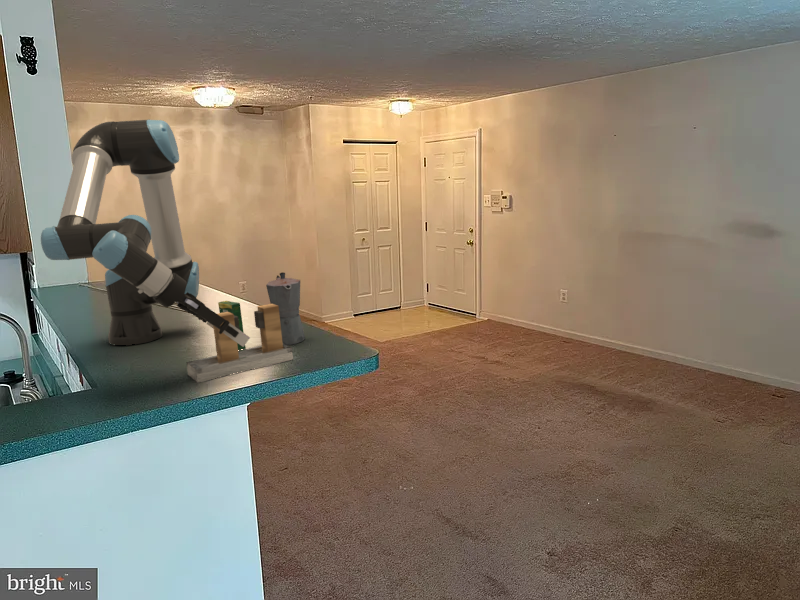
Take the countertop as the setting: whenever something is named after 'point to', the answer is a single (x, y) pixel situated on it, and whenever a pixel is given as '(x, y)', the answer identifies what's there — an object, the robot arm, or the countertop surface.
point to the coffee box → (234, 309)
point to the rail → (237, 363)
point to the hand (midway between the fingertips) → (238, 337)
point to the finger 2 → (269, 327)
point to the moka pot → (287, 307)
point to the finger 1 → (226, 340)
